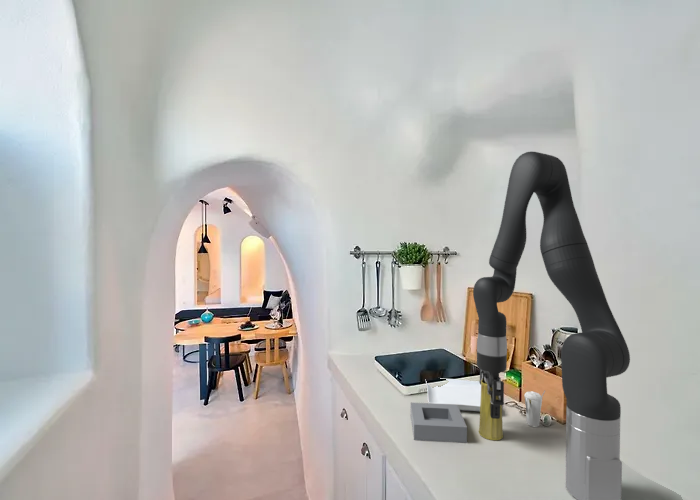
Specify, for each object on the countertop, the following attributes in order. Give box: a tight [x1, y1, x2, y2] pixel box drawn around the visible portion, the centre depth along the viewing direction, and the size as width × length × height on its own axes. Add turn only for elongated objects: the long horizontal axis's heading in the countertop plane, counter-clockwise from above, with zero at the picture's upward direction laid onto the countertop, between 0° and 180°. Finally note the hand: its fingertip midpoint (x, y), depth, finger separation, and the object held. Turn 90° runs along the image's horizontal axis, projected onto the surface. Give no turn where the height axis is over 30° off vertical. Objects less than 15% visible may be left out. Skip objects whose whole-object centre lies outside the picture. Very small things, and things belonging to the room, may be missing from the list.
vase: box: [478, 379, 504, 441], centre depth 99 cm, size 6×6×14 cm
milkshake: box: [524, 390, 546, 428], centre depth 104 cm, size 5×5×10 cm
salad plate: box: [425, 377, 481, 413], centre depth 121 cm, size 21×21×3 cm
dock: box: [410, 402, 468, 444], centre depth 102 cm, size 14×14×4 cm
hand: (490, 410), depth 99 cm, fingers open, 8 cm apart
